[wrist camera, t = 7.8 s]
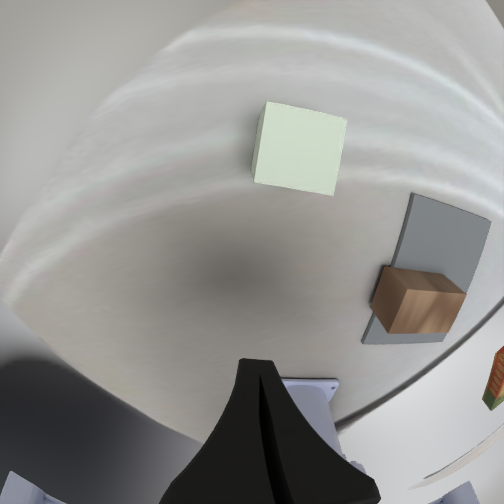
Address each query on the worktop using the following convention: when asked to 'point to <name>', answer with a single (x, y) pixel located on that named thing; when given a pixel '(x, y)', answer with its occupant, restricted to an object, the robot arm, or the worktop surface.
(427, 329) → the walnut block
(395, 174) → the worktop surface
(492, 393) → the carton
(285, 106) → the sage block
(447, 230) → the mat
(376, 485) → the robot arm
